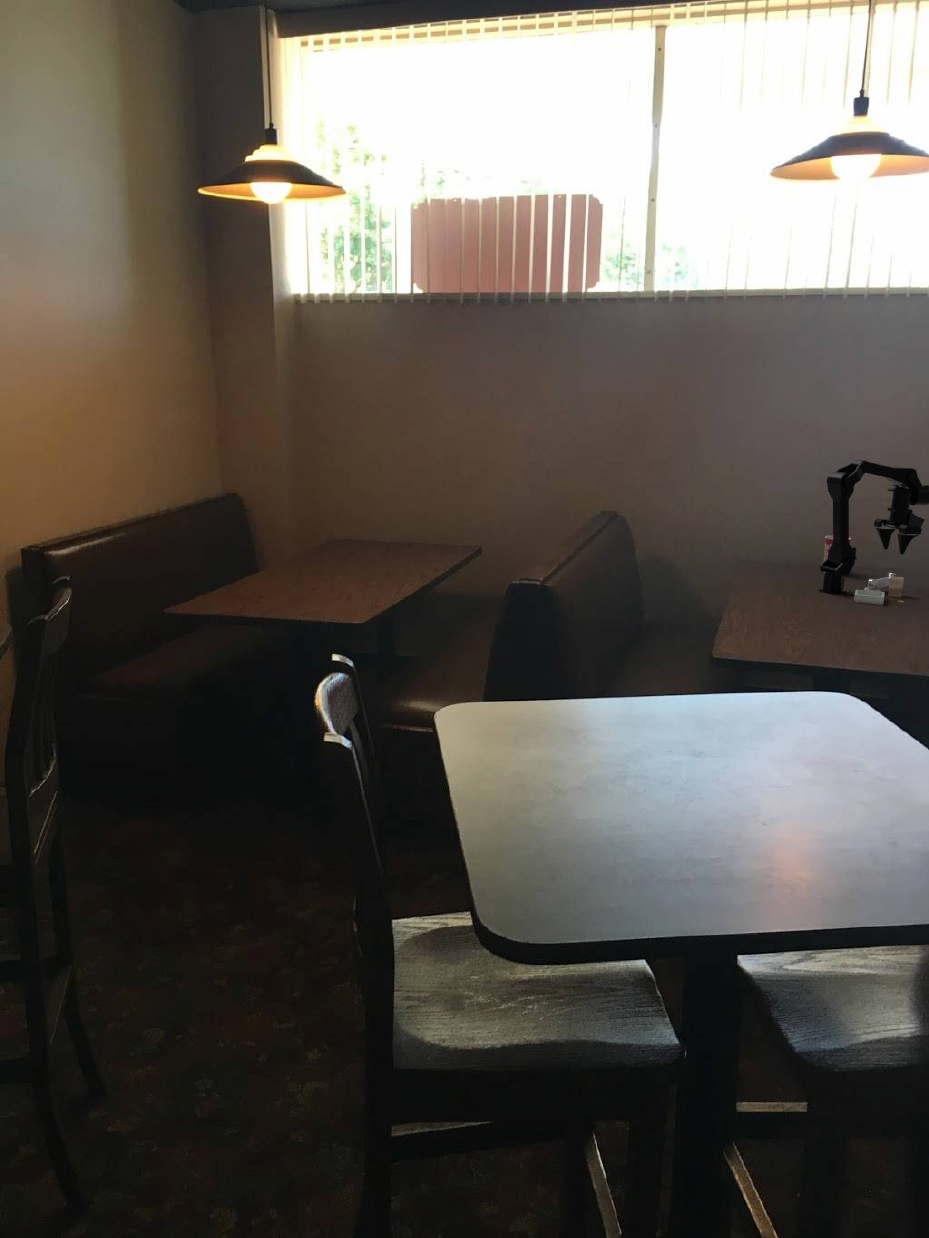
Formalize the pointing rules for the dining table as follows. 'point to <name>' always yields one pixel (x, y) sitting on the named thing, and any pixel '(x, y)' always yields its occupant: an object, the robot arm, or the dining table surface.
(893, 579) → the stop block
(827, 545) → the mug
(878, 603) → the stop tray
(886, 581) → the crank
